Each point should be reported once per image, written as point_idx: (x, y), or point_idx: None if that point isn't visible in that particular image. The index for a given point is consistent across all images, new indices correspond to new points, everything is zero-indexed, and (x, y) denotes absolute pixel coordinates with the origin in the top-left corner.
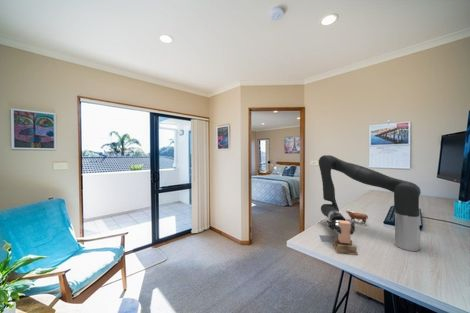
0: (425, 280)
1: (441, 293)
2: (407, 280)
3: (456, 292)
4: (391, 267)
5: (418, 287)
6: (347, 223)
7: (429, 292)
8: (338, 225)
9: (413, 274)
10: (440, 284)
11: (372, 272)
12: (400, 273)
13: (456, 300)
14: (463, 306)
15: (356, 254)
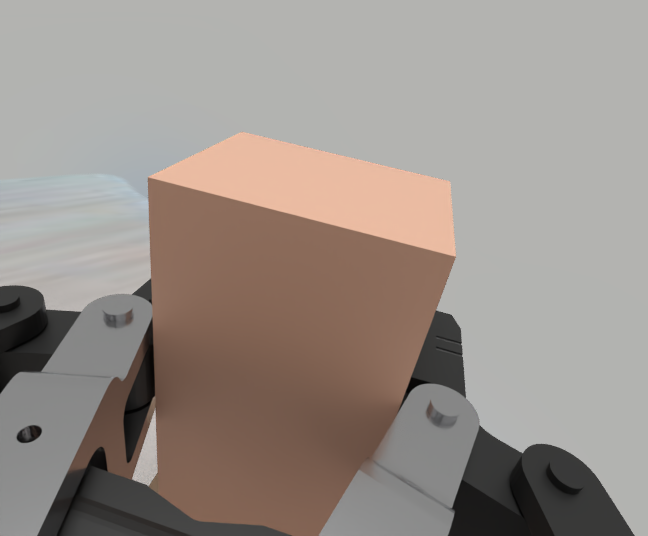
0: (35, 227)
1: (87, 197)
2: (128, 242)
3: (17, 187)
4: (72, 304)
5: (136, 220)
6: (300, 147)
7: (128, 206)
8: (404, 391)
9: (27, 253)
10: (6, 208)
11: None
12: (93, 269)
13: (84, 181)
14: (101, 174)
15: None
